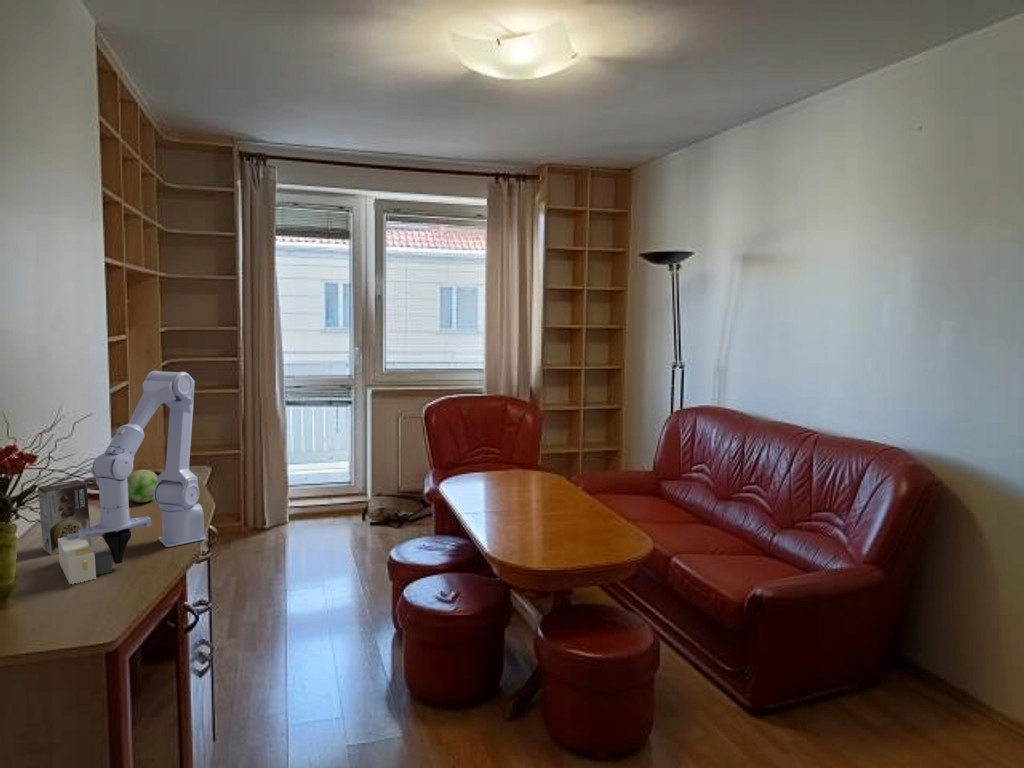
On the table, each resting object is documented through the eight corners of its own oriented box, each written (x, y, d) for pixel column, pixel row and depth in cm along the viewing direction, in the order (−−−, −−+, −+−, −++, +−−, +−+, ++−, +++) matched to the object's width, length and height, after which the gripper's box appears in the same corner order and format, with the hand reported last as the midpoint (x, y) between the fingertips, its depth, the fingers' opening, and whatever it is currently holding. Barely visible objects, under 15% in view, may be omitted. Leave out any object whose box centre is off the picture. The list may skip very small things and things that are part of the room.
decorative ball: (130, 508, 205) (128, 475, 204) (121, 501, 213) (119, 469, 211) (166, 502, 212) (164, 470, 211) (156, 495, 219) (154, 464, 218)
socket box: (82, 556, 167) (81, 530, 167) (97, 581, 153) (95, 552, 152) (58, 561, 164) (56, 534, 163) (71, 587, 150) (68, 557, 149)
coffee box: (82, 539, 179) (78, 478, 177) (92, 545, 175) (88, 483, 173) (41, 549, 172) (37, 486, 170) (50, 555, 168) (46, 490, 166)
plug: (109, 566, 161) (108, 550, 161) (112, 572, 158) (111, 555, 157) (84, 571, 158) (83, 554, 158) (86, 577, 155) (85, 560, 154)
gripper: (143, 495, 166) (146, 550, 168) (73, 507, 156) (77, 565, 158) (152, 501, 161) (155, 557, 163) (81, 515, 151) (85, 574, 153)
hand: (117, 562), depth 160 cm, fingers closed
